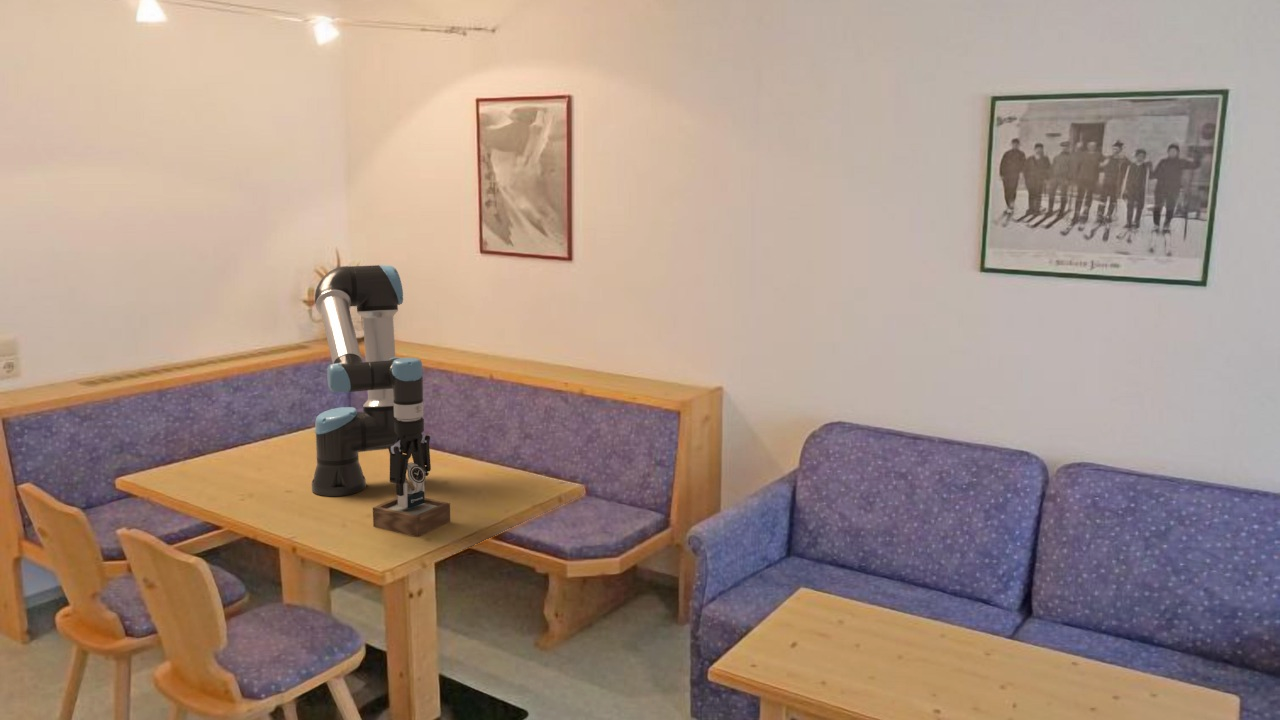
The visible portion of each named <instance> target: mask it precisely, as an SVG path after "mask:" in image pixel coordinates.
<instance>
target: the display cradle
mask: <svg viewBox="0 0 1280 720" xmlns="http://www.w3.org/2000/svg"><path fill="white" fill-rule="evenodd" d="M448 523H451V502H447V501H442V500H439V499H433V498H427V497H425V503H423V504H420V505H417V506H414V507H411V508H404V507H399V506H398V505H397V497H395V498H393V499H390V500H388V501H385V502H382V503H380V504H378V505H375V506H373V507H372V525H373V527H375V528H378V529H383V530H386V531H387V530H388V531H391V532H396V533H400V534H403V535H409V536H412V537H416V538H417V537H418V538H419V537H421V536H422V535H425V534H427V533H430V532H431V531H433V530H435V529H438V528H440V527H442V526H444V525H446V524H448Z"/></svg>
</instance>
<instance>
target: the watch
mask: <svg viewBox="0 0 1280 720" xmlns="http://www.w3.org/2000/svg"><path fill="white" fill-rule="evenodd" d="M426 477H427V476H426V475H425V471H424V470H423V468H422V467H420V466H418V465H417V464H415V463H414V462H412V461H411V462H408V466H407V476H406V477H405V483H407V496H408V507H407V508H411V507H414V506H417V505H420V504H423V503H425V498H426V497H425V496H424V491H421V489H422V487H423V484H424V481H425V482H426ZM400 479H401V478H400ZM409 481H410V483H411V484H412V486H413V487H414V488H411V487H410V483H409ZM396 498H397V505H398V495H397V494H396Z"/></svg>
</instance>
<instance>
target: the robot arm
mask: <svg viewBox="0 0 1280 720" xmlns="http://www.w3.org/2000/svg"><path fill="white" fill-rule="evenodd" d="M314 292H315V293H314V303H315V307H316V310H317V312H318V313H319V314H321V317H322V321H323V326H324V327H323V328H324V332H325V335H326V340H327V344H328V350H329V353H330V357H331V362H332V363H331V364H328V366H327V368H326V377H327V378H326V379H327V380H326V381H327V387H328V389H329V391H330V392H332V393H346V394H347V393H354V392H363V391H364V392H365V391H367V400H366V401H365V403H363V406H362V409H363V411H360V412H358V410H357V409H356V408H355V407H353V406H352V407H351V406H347V407H346V406H341V407H336V408H331V409H328V410H325V411H322V412H321V413H319V414H318V415H317V416H316V418H315V423H314V424H315V427H314V434H315V443H316V444H315V445H316V467H315V471H314V476H313V479H312V481H311V491H312V493H313V494H316V495H319V496H322V497H323V496H324V497H340V496H341V497H342V496H349V495H353V494H357V493H359V492H361V491H364V490H365V488H366V486H367V484H366V483H367V482H366V481H367V480H366V477H365V475H364V473H363V469H362V466H361V464H360V459H359V453H364V452H372V451H373V452H374V451H383V450H388V452H389V482H390V483H393V484H395V487H396V489H395V491H396V492H395V493H396V496H397V495H398V506H399V507H404V508H407V507H408V496H407V483H405V477H406V478H407V473H408V471H407V467H408V463H409V461H410V460H409V459H410V458H411V457H412V460H413V462H412V463H415V464H417V465H418V466H420V467H422V468H423V470H424V471H425V475H426V477H428V476H429V475H430V473H429V472H431V470H432V466H431V465H432V464H431V455H430V451H431V450H430V442H431V441H430V440H431V436H430V435H427V434H423V432H424V431H425V420H424V419H425V418H423V416H424V384H423V382H424V380H423V378H424V377H423V376H424V370H423V363H422V361H421V360H420V359H419V358H415V357H399V356H396V346H395V345H396V343H395V327H394V316H395V315H396V314H397V312H398V311H399V307H398V306H400V305H403V303H404V289H403V284H402V281H401V277H400V274H399V272H398V270H397V269H396V268H395V267H394V266H392V265H383V264H377V265H376V264H375V265H352V266H351V265H350V266H348V265H347V266H346V265H345V266H344V265H343V266H339V267H336V268H334V269H332V270H330V271H329V272H328V273H326V274H325V275H324V276H323V277H322V278H321V280H320V281H319V283H318V285H317V286H316V289H315V291H314ZM351 307H356V313H357V314H358V315H359V316H360V317H362V322H363V339H364V341H363V342H364V355H365V356H364V357H365V358H364V359H365V361H363V357H362V355H361V351H360V350H361V349H360V347H359V343H358V338H357V334H356V331H355V327H354V323H353V320H352V319H353V318H352V315H351V310H350V308H351ZM400 478H401V479H400ZM425 486H426V480H425V481H424V484H423V487H422V489H421V491H424V496H425V492H426V489H425Z"/></svg>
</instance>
